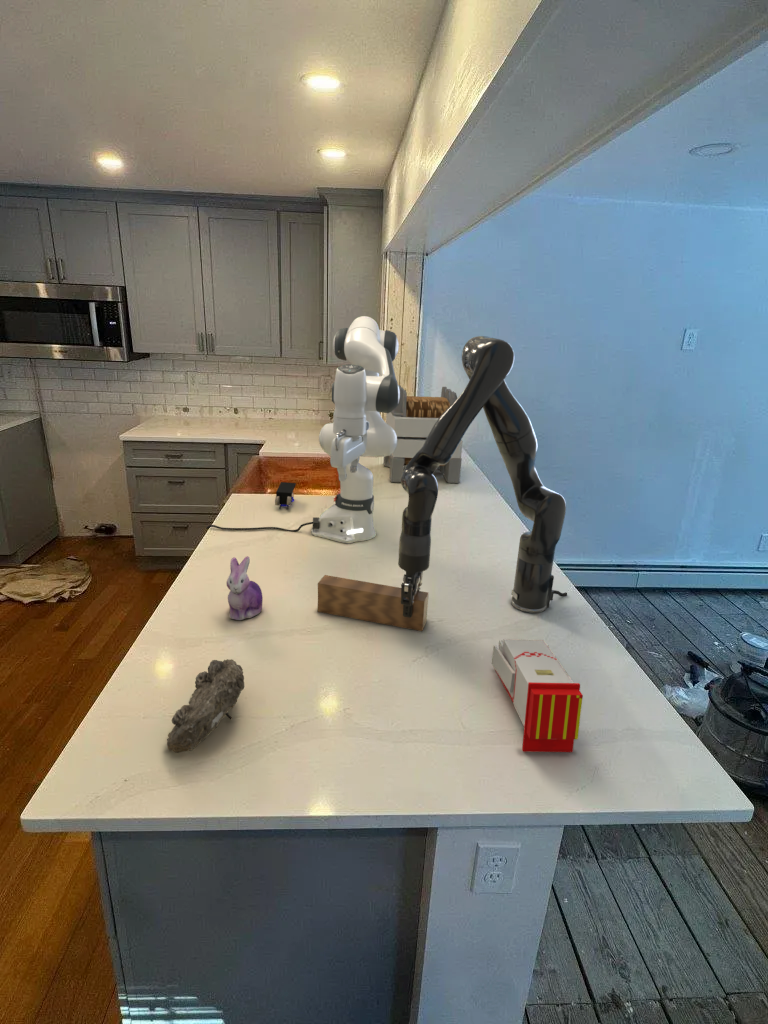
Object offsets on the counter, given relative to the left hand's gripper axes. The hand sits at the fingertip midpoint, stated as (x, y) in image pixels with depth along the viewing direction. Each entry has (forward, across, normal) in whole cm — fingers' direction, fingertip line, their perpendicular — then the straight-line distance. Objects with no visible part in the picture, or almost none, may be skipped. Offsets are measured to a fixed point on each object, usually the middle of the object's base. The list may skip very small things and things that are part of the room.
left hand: (348, 476), depth 158 cm
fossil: (+31, -66, +4) cm, 74 cm away
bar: (+30, -20, -14) cm, 39 cm away
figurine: (+31, -30, +17) cm, 46 cm away
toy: (+31, -43, -54) cm, 76 cm away
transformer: (+29, +117, +3) cm, 121 cm away
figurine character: (+30, +50, +42) cm, 72 cm away
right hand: (+27, -21, -24) cm, 41 cm away
